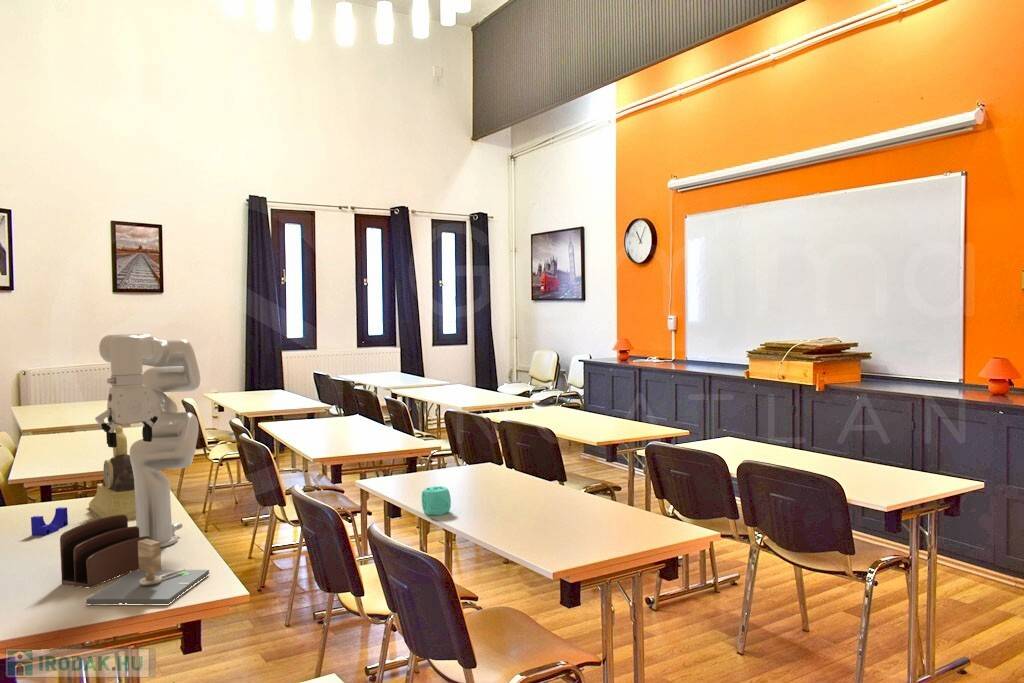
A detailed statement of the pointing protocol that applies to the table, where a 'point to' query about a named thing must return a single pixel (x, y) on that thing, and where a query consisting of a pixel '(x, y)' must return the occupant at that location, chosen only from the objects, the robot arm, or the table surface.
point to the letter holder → (99, 551)
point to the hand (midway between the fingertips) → (130, 444)
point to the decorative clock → (116, 483)
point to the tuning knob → (151, 562)
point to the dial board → (147, 588)
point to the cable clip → (58, 522)
